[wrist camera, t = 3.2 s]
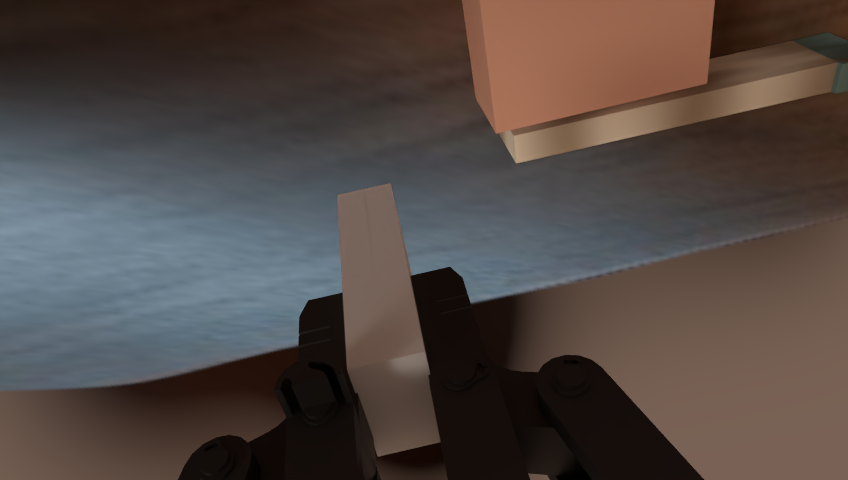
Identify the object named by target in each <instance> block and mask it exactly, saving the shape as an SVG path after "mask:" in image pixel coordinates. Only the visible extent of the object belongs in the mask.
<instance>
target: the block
mask: <svg viewBox="0 0 848 480" xmlns="http://www.w3.org/2000/svg"><path fill="white" fill-rule="evenodd" d="M462 4H463V11H464V18H465V25H466V32H467V39H468V47H469V54H470V61H471V68H472V75H473V82H474V89H475V96H476V100H477V101H478V103H479V105H480V107H481V108H482V110H483V112H484V114H485V115H486V117H487V119H488V120H489V122H490V124H491V126H492V127H493V129H494V131H495V132H496V134H497V133H501V132H505V131H509V130H514V129H518V128H522V127H526V126H530V125H535V124H539V123H543V122H547V121H551V120H556V119H560V118H564V117H568V116H572V115H577V114H581V113H585V112H589V111H593V110H598V109H602V108H606V107H610V106H615V105H619V104H623V103H627V102H631V101H636V100H640V99H644V98H648V97H652V96H657V95H661V94H665V93H669V92H673V91H678V90H682V89H686V88H690V87H694V86H699V85H703V84H707V79H708V68H709V58H710V47H711V36H712V26H713V15H714V5H715V0H462Z"/></svg>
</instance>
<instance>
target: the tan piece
mask: <svg viewBox="0 0 848 480" xmlns="http://www.w3.org/2000/svg"><path fill="white" fill-rule="evenodd" d="M846 91H848V41H847V40H845V39H842V38H840V37H838V36H835V35H833V34H831V33H828V32H827V33H823V34H818V35H814V36H809V37H805V38H801V39H796V40H792V41H787V42H783V43H778V44H774V45H770V46H765V47H761V48H756V49H752V50H747V51H743V52H738V53H734V54H730V55H725V56H721V57H716V58H712V59H709V68H708V79H707V84H703V85H699V86H694V87H690V88H686V89H682V90H678V91H673V92H669V93H665V94H661V95H657V96H652V97H648V98H644V99H640V100H636V101H631V102H627V103H623V104H619V105H615V106H610V107H606V108H602V109H598V110H593V111H589V112H585V113H581V114H577V115H572V116H568V117H564V118H560V119H556V120H551V121H547V122H543V123H539V124H535V125H530V126H526V127H522V128H518V129H514V130H509V131H505V132H501V133H499V135H500V137H501V138H502V140H503V142H504V143H505V145H506V147H507V149H508V150H509V152H510V154H511V155H512V157H513V159H514V160H515V162H516V163H520V162H525V161H529V160H534V159H538V158H542V157H547V156H551V155H556V154H560V153H564V152H569V151H573V150H578V149H582V148H586V147H591V146H595V145H599V144H604V143H608V142H613V141H617V140H621V139H626V138H630V137H635V136H639V135H643V134H648V133H652V132H656V131H661V130H665V129H670V128H674V127H678V126H683V125H687V124H692V123H696V122H700V121H705V120H709V119H713V118H718V117H722V116H727V115H731V114H735V113H740V112H744V111H749V110H753V109H757V108H762V107H766V106H770V105H775V104H779V103H784V102H788V101H792V100H797V99H801V98H806V97H810V96H814V95H819V94H823V93H828V92H832V93H834V94H837V93H842V92H846Z"/></svg>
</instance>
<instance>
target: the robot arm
mask: <svg viewBox="0 0 848 480" xmlns="http://www.w3.org/2000/svg"><path fill="white" fill-rule="evenodd" d="M337 200H338V218H339V236H340V254H341V272H342V289H343V293H339V294H335V295H330V296H326V297H322V298H317V299H313V300H308V302H307V304H306V306H305V307H304V309H303V311H302V313H301V315H300V317H299V335H300V336H299V349H298V361H297V362H295V363H294V364H292V365H291V366H290V367H288V368H287V369H285V370H284V372H283V373H282V374H281V376H280V377H279V378H278V379H277V382H276V385H275V389H274V391H275V393H276V395H277V398H278V400H279V402H280V404H281V406H282V408H283V410H284V412H285V415H286V417H287V418H286V419H285V420H284V421H283V422H282V423H280V424H279V425H278V426H277V427H276V428H274V429H272V430H271V431H269V432H267V433H265V434H264V435H262V436H260V437H258V438H256V439H254V440H252V441H250V442H246V441H245V440H243V439H242V438H241V437H238V436H232V435H227V436H222V437H217V438H214V439H212V440H210V441H209V442H207V443H205V444H203V445H202V446H201V447H200V448H198V449H197V450H196V451H195V452H194V453H193V454H192V455H191V457H190V458H189V460H188V461H187V463H186V464H185V466H184V468H183V470H182V472H181V474H180V477H179V479H178V480H381V478H380V475H379V472H378V469H377V466H376V460H375V450H376V452H377V455H378V456H382V455H386V454H391V453H395V452H399V451H404V450H408V449H412V448H416V447H421V446H425V445H429V444H433V443H438V442H441V447H442V452H443V457H444V462H445V467H446V472H447V477H448V480H530V478H529V475H528V473H531V474H544V475H548V477H549V479H550V480H704V479H703V478H702V477H701V476H700V475H699V474H698V473H697V471H696V470H695V469H694V468H693V467H692V466H691V465H690V464H689V463H688V462H687V460H686V459H685V458H684V457H683V456H682V455H681V454H680V453H679V452H678V451H677V449H676V448H675V447H674V446H673V445H672V444H671V443H670V442H669V441H668V440H667V439H666V437H665V436H664V435H663V434H662V433H661V432H660V431H659V430H658V429H657V428H656V426H655V425H654V424H653V423H652V422H651V421H650V420H649V419H648V418H647V417H646V415H645V414H644V413H643V412H642V411H641V410H640V409H639V408H638V407H637V406H636V405H635V404H634V402H633V401H632V400H631V399H630V398H629V397H628V396H627V395H626V394H625V393H624V391H623V390H622V389H621V388H620V387H619V386H618V385H617V384H616V383H615V382H614V380H613V379H612V378H611V377H610V376H609V375H608V374H607V373H606V372H605V371H604V369H603V368H602V367H601V366H599V365H598V364H596V363H595V362H594V361H592V360H591V359H588V358H585V357H582V356H577V355H564V356H560V357H556V358H553V359H551V360H550V361H548V362H547V363H545V364H544V365H543V366H542V367H541V369H540V371H539V372H520V371H512V370H509V369H506V368H503V367H501V366H500V365H498V364H496V363H495V362H494V361H492V359H491V358H490V357H489V356H488V354H487V352H486V350H485V347H484V344H483V341H482V338H481V334H480V331H479V328H478V325H477V322H476V319H475V316H474V313H473V309H472V307H471V303H470V300H469V297H468V294H467V291H466V287H465V284H464V281H463V278H462V277H461V276H460V275H459V274H457V273H456V272H455V271H454V270H453V269H452V268H451V267H447V268H443V269H438V270H434V271H429V272H425V273H421V274H416V275H412V274H411V269H410V265H409V260H408V256H407V251H406V247H405V243H404V239H403V234H402V230H401V226H400V222H399V218H398V213H397V209H396V205H395V201H394V196H393V192H392V188H391V184H390V183H389V184H385V185H380V186H376V187H371V188H367V189H362V190H358V191H354V192H349V193H345V194H340V195H337ZM374 447H375V449H374Z"/></svg>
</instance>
